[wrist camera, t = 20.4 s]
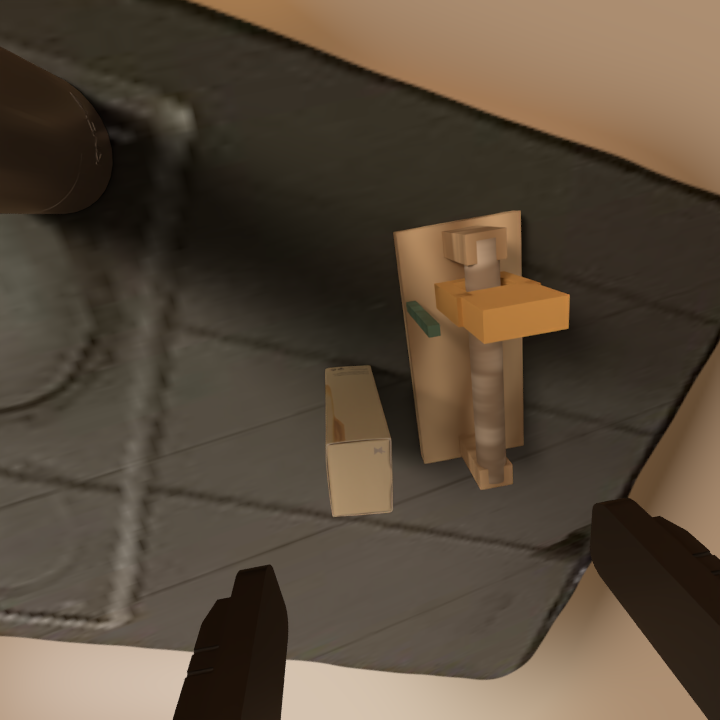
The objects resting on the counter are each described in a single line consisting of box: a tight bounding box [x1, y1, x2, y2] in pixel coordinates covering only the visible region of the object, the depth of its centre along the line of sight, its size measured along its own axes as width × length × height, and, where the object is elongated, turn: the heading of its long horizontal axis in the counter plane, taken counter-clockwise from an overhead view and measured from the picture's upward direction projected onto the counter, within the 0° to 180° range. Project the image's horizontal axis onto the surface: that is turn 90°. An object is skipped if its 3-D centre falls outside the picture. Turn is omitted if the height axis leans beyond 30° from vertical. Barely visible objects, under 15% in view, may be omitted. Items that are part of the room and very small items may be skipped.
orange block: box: [434, 271, 570, 344], centre depth 26 cm, size 6×2×9 cm, turn 99°
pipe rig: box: [393, 211, 524, 490], centre depth 32 cm, size 10×22×9 cm, turn 9°
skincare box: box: [325, 365, 393, 517], centre depth 31 cm, size 6×4×12 cm
